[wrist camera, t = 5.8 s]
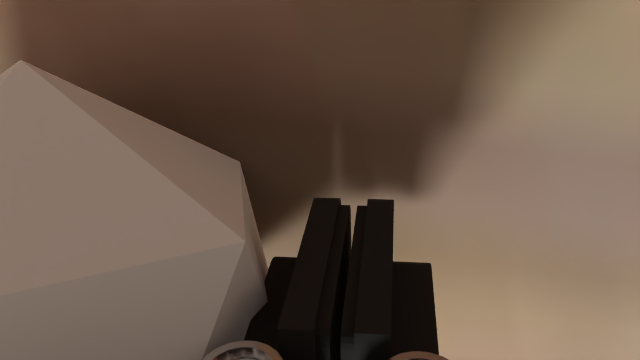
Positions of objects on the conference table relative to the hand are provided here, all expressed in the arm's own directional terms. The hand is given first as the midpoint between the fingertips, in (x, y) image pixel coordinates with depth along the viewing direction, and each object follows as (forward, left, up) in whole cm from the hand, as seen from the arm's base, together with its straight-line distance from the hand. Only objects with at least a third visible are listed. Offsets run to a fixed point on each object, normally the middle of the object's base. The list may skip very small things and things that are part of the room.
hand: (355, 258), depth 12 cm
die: (+5, 0, -2) cm, 6 cm away
